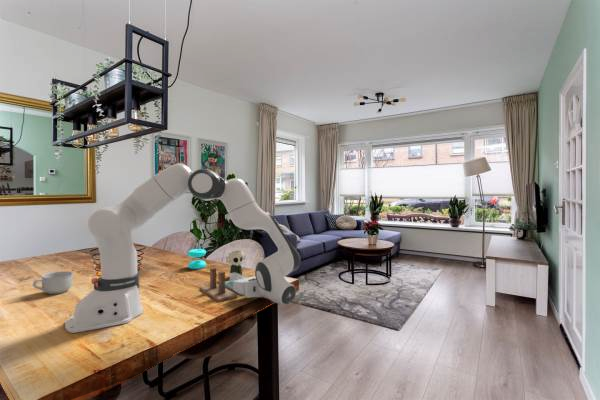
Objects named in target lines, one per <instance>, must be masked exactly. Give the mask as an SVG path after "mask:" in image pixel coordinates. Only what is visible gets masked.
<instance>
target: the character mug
mask: <svg viewBox="0 0 600 400" xmlns="http://www.w3.org/2000/svg"><path fill="white" fill-rule="evenodd" d="M245 260H246V253H244V252H243V250H238V249H237V250H230V251H228V255H226V257H225V263H226V264H227V263H229V265H230V271H229V274H230V273H234V272H236V273H238V274H241V275H243V269H242V264H243V262H244V261H245Z"/></svg>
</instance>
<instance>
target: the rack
mask: <svg viewBox="0 0 600 400" xmlns="http://www.w3.org/2000/svg"><path fill="white" fill-rule="evenodd" d="M209 276H210V277H209V284H207V285H206V284H205V285H203V286H202V285H201V286H199V290H200V291H201V292H203V293H205V294H206V295H208V296H209V297H211V298H212V299H214V300H215V301H217V302H218V303H221V302H224V301H228V300H232V299H233V300H234V299H237V298H238V293H236V292H235V291H233V290H231V289H229V288H227V287H225V282H226V272H225V271H222V270H221V271H218V283H217V268H216V267H214V266H213V267H209Z"/></svg>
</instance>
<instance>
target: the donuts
mask: <svg viewBox="0 0 600 400" xmlns="http://www.w3.org/2000/svg"><path fill="white" fill-rule="evenodd" d="M206 254H207V251H206V249H203V248H198V249H197V248H193V249H191V250H189V251H188V252H187V255H188V256H189V257H190V258H202V257H204V256H206ZM206 266H207V263H206V261H205V260H201V259H199V260H197V259H195V260H192V261H189V262H188V265H187V267H188V269H191V270H200V269H203V268H206Z"/></svg>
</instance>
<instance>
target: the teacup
mask: <svg viewBox="0 0 600 400" xmlns="http://www.w3.org/2000/svg"><path fill="white" fill-rule="evenodd" d="M73 275H74V272H73V271H68V270H60V271H52V272H47V273H43V274H42V275H41V278H37V279H35V280H33V282H32V286H33V288H34V289H37V290H39V291H41V292H44V293H46V294H49V295H57V294H63V293H65V292H67V291H68V290H69V289H71V288H72V285H73V280H74V279H73V278H74V277H73ZM38 282H40V283H41V287H40V286H38V285H37V284H38Z"/></svg>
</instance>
